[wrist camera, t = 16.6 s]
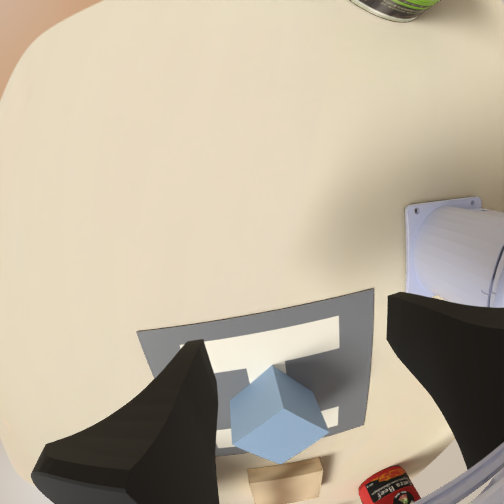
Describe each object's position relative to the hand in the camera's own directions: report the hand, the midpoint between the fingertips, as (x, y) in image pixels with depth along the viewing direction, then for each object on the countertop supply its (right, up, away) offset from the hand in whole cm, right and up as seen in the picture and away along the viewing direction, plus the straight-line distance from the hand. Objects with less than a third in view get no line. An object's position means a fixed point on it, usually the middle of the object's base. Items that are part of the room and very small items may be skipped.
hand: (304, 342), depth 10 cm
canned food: (+17, -31, +19) cm, 40 cm away
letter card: (0, -9, +12) cm, 15 cm away
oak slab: (+2, -24, +16) cm, 29 cm away
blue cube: (0, -9, +12) cm, 15 cm away
